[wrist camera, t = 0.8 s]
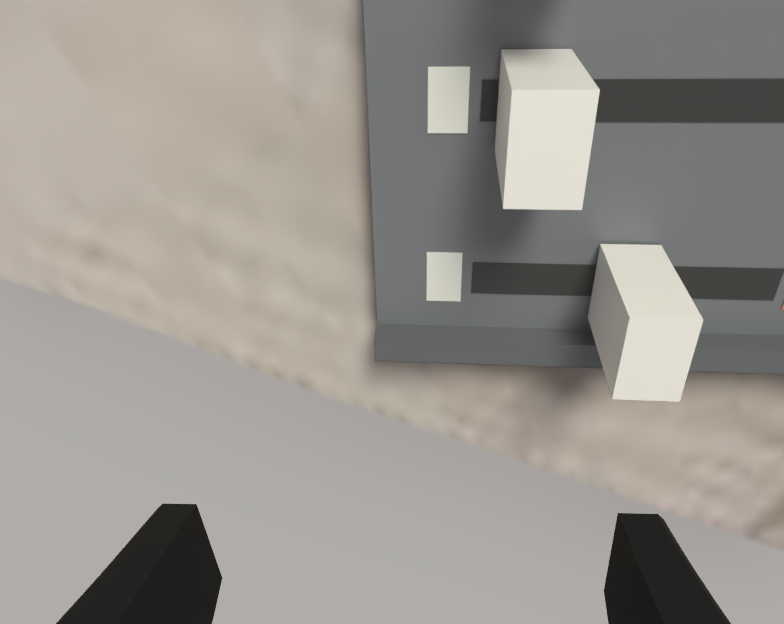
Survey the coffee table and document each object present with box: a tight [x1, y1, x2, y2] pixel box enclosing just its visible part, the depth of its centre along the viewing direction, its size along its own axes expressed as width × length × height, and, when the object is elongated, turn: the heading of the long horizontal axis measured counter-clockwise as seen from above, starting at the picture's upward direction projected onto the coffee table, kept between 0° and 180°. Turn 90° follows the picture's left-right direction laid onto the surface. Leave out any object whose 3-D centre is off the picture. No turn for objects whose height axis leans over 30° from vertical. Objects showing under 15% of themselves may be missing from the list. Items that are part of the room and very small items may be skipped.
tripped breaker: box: [588, 244, 703, 402], centre depth 17 cm, size 2×2×4 cm
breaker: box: [495, 49, 600, 210], centre depth 14 cm, size 2×2×4 cm
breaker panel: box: [363, 0, 784, 374], centre depth 16 cm, size 16×15×2 cm
